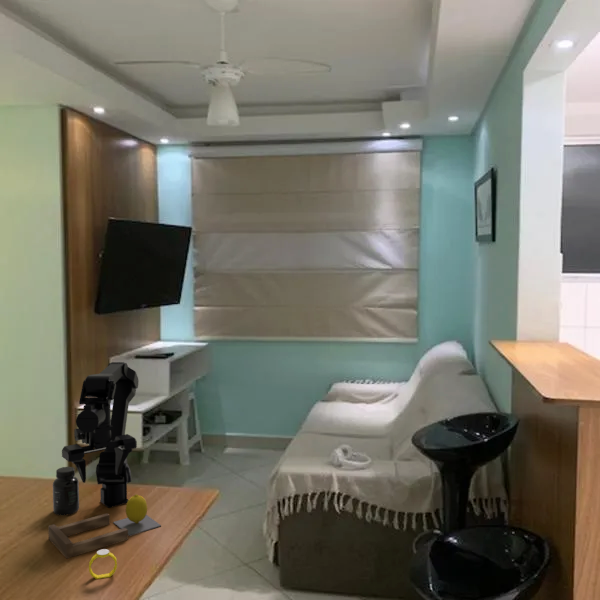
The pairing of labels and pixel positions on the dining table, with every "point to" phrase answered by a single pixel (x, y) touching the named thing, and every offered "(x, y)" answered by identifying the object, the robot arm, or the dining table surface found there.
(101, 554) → the watch
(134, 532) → the mat
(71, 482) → the supplement bottle
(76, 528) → the shelf lane
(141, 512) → the lemon
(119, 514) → the dining table surface
